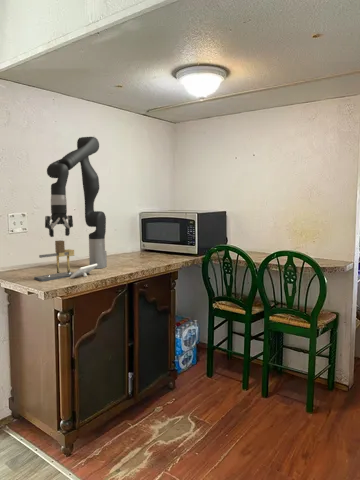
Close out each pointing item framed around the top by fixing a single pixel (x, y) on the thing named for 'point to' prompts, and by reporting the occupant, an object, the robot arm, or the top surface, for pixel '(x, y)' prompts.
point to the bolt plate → (53, 276)
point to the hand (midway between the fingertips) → (59, 236)
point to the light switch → (83, 271)
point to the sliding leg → (59, 251)
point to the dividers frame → (67, 253)
